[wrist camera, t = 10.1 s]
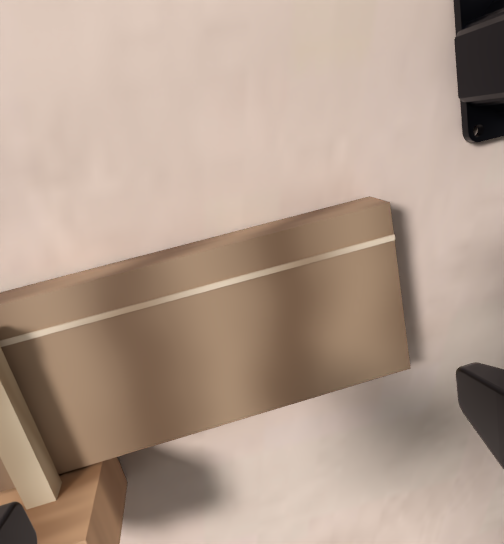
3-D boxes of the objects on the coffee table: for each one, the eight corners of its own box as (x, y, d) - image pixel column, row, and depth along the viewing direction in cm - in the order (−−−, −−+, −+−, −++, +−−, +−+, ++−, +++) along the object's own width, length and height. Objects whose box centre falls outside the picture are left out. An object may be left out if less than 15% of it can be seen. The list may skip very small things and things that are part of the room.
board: (369, 196, 20) (390, 202, 18) (390, 349, 23) (411, 369, 21) (-135, 327, 18) (-172, 350, 16) (-51, 479, 21) (-73, 515, 19)
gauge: (51, 291, 19) (1, 355, 14) (127, 483, 23) (112, 598, 17) (-56, 319, 19) (-154, 397, 13) (37, 510, 22) (-10, 638, 16)
